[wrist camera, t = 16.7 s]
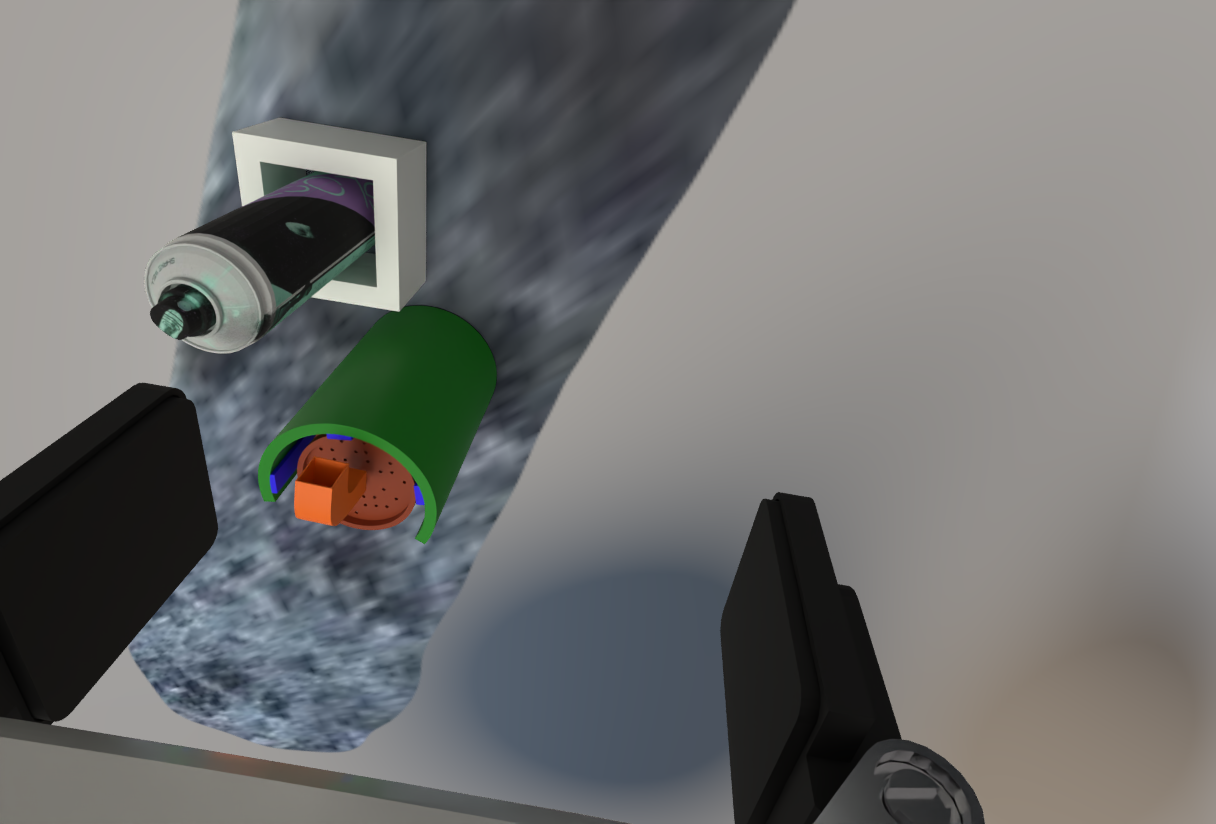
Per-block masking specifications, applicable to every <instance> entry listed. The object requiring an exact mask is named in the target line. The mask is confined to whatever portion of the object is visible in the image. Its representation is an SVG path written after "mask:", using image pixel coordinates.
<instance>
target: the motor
mask: <svg viewBox="0 0 1216 824" xmlns="http://www.w3.org/2000/svg"><path fill="white" fill-rule="evenodd" d="M496 379H497V372H496V365H495V361H494V358H493V355H492V352H491V350H490V348H489V347H488V345H487V343H486V342H485V340H484V339H483V338H482V336H481V335H480V334H479V333H478V332H477V331H476V330H475V329H474V328H473V327H472V326H471V325H470V324H468V323H467V322H466V321H464V320H463V319H461V318H460V317H458V316H456V315H454V314H452V313H450V312H448V311H445V310H442V309H439V308H435V307H429V306H408V307H403V308H402V309H401V311H400V312H398V311H391V312H389V313H388V314H386V315H384V316H383V317H382V318H380V319H379V320H378V321H377V322H376V323H375V324H374V326H373V327H372V328H371V329H370V330H369V331H368V332H367V334H366V335H365V336H364V337H363V338H362V339H361V340H360V342H359V343H358V344H357V345H356V346H355V347H354V348H353V350H352V351H351V352H350V353H349V354H348V355H347V356H346V358H345V359H344V360H343V361H342V362H341V363H340V364H339V366H338V367H337V368H336V369H335V370H334V371H333V372H332V374H331V375H330V376H329V377H328V378H327V379H326V380H325V382H324V383H323V384H322V385H321V386H320V387H319V389H318V390H317V391H316V392H315V393H314V394H313V395H312V397H311V398H310V399H309V400H308V401H307V402H306V403H305V405H304V406H303V407H302V408H301V409H300V410H299V411H298V413H297V414H296V415H295V416H294V417H293V418H292V419H291V421H290V422H289V423H288V424H287V425H286V426H285V427H284V429H283V430H282V431H281V432H280V433H279V434H278V435H277V437H276V438H275V439H274V440H273V441H272V442H271V443H270V445H269V446H268V447H267V448H266V450H265V452H264V453H263V455H262V458H261V460H260V464H259V470H258V481H259V487H260V491H261V494H262V497H263V499H264V501H271V502H275V501H276V500H277V499H278V498H279V496H280V495H281V494H282V492H283V491H284V490H285V488H286V487H287V486H288V484H289V483H290V482H291V481H292V479H293V478H294V477H295V475H296V474H297V475H298V478H297V480H296V481H295V503H294V505H295V515H296V517H297V518H298V519H303V520H308V521H313V522H317V523H322V524H327V525H332V526H336V525H338V524H339V523H341V524H343V525H346V526H349V527H353V528H357V529H364V530H380V529H385V528H389V527H392V526H395V525H397V524H399V523H400V522H402V521H403V520H404V519H406V518H407V517H408V515H409V514H410V513H411V511H412V509H413V507H414V505H415V503H416V504H418V505H425V518H424V520H423V522H422V525H421V527H420V529H419V531H418V533H417V535H416V537H415V539H417V540H418V541H420V542H422V543H423V544H425V543H426V542H427V541H428V539H429V538H430V536H431V534H432V532H433V530H434V528H435V525H436V523H437V521H438V519H439V516H440V514H441V512H442V509H443V507H444V505H445V503H446V500H447V498H448V496H449V493H450V491H451V489H452V487H453V484H454V482H455V480H456V477H457V475H458V473H459V471H460V468H461V466H462V464H463V461H464V459H465V457H466V455H467V452H468V450H469V448H470V446H471V443H472V441H473V439H474V436H475V434H476V432H477V430H478V427H479V425H480V423H481V420H482V418H483V416H484V414H485V411H486V409H487V407H488V404H489V402H490V400H491V398H492V395H493V393H494V390H495V386H496ZM356 511H357V512H356Z"/></svg>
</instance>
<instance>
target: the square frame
mask: <svg viewBox="0 0 1216 824" xmlns="http://www.w3.org/2000/svg"><path fill="white" fill-rule="evenodd" d="M232 134H233V141H234V149H235V156H236V163H237V171H238V178H239V185H240V192H241V200H242V206H244V205H246V204H249V203H251V202H253V201H255V200H257V199H259V198H261V197H263V196H265V195H267V194H269V193H271V192H273V191H276V190H278V189H280V188H282V187H284V186H286V185H288V184H290V183H292V182H294V181H296V180H298V179H301V178H303V177H305V176H306V169H308V170H314V171H320V172H326V173H332V174H338V175H344V176H350V177H356V178H362V179H368V180H373V193H374V220H375V247H376V254H372V253H366V252H365V253H364V254H363V255H362V256H360V257H359V258H358V259H357V260H356V261H354V262H353V263H352V264H351V265H349V266H348V267H347V268H346V269H345V270H343V271H342V272H341V273H340V274H338V275H337V276H336V277H335V278H334V279H332V280H331V281H330V282H329V283H327V284H326V285H325V286H324V287H323V288H321V289H320V290H319V291H318V292H317V293H315V294H314V295H313V296H312V297H313V298H319V299H325V300H332V301H338V302H344V303H350V304H356V305H362V306H368V307H374V308H380V309H386V310H392V311H398V312H400V311H401V309H402V308H403V307H404V306H405V305H406V304H407V302H408V301H409V300H410V299H411V298H412V297H413V296H414V294H415V293H416V292H417V291H418V290H419V289H420V288H421V286H422V285H423V284H424V283H425V282H426V142H424V141H418V140H412V139H406V138H400V137H394V136H388V135H382V134H376V133H370V132H364V131H358V130H352V129H346V128H340V127H334V126H328V125H322V124H316V123H310V122H304V121H298V120H292V119H286V118H277V119H273V120H270V121H267V122H263V123H260V124H257V125H253V126H250V127H247V128H243V129H240V130H237V131H233V132H232Z"/></svg>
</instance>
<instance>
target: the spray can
mask: <svg viewBox="0 0 1216 824" xmlns="http://www.w3.org/2000/svg"><path fill="white" fill-rule="evenodd" d="M374 245H375V220H374V193H373V180H368V179H362V178H356V177H350V176H344V175H338V174H332V173H326V172H320V171H315V172H313V173H311V174H309V175H307V176H305V177H303V178H301V179H298V180H296V181H294V182H292V183H290V184H288V185H286V186H284V187H282V188H280V189H278V190H276V191H273V192H271V193H269V194H267V195H265V196H263V197H261V198H259V199H257V200H255V201H253V202H251V203H249V204H246V205H244V206H242V207H240V208H238V209H236V210H234V211H232V212H230V213H228V214H226V215H224V216H221V217H219V218H217V219H215V220H213V221H211V222H209V223H207V224H205V225H203V226H201V227H199V228H197V229H194V230H192V231H190V232H188V233H186V234H184V235H182V236H180V237H178V238H176V239H174V240H172V241H171V242H169V243H167V244H166V245H165V246H164V247H163V248H162V249H160V250H159V251H157V252H156V253H155V254H154V255H153V256H152V257H151V259H150V260H149V262H148V265H147V266H146V270H145V276H144V282H145V283H144V284H145V291H146V295H147V298H148V300H149V303H150V305H151V307H152V309H151V311H150V316H151V319H152V321H153V322H154V323H155V324H156V325H157V326H158V327H159V328H160V329H161V330H162V331H163V332H165V333H166V334H168V335H169V336H171V337H172V338H175V339H178V340H183V341H184V342H186V343H187V344H189V345H191V346H194V347H196V348H198V349H201V350H204V351H208V352H213V353H232V352H235V351H239V350H241V349H243V348H245V347H247V346H248V345H251V344H253V343H254V342H256V341H258V340H259V339H261V338H262V337H263V336H264V335H265V334H267V333H268V332H269V331H270V330H271V329H273V328H274V327H275V326H276V325H278V324H279V323H280V322H281V321H282V320H284V319H285V318H286V317H287V316H289V315H290V314H291V313H292V312H293V311H295V310H296V309H297V308H298V307H299V306H301V305H302V304H303V303H304V302H306V301H307V300H308V299H309V298H310V297H312V296H313V295H314V294H315V293H317V292H318V291H319V290H320V289H321V288H323V287H324V286H325V285H326V284H327V283H329V282H330V281H331V280H332V279H334V278H335V277H336V276H337V275H338V274H340V273H341V272H342V271H343V270H345V269H346V268H347V267H348V266H349V265H351V264H352V263H353V262H354V261H356V260H357V259H358V258H359V257H360V256H362V255H363V254H364V253H365V252H366V251H368V250H369V249H370V248H371V247H373V246H374Z"/></svg>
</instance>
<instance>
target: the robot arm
mask: <svg viewBox="0 0 1216 824" xmlns="http://www.w3.org/2000/svg"><path fill="white" fill-rule="evenodd" d="M217 531H218V523H217V518H216V512H215V507H214V502H213V497H212V492H211V486H210V481H209V476H208V471H207V466H206V460H205V455H204V450H203V445H202V439H201V434H200V429H199V424H198V419H197V413H196V408H195V406H194V403H193V402H192V401H191V400H188V399H187V398H186V396H185V394H184V393H183V391H182V390H179V389H177V388H172V387H166V386H159V385H154V384H148V383H138V384H136V385H134V386H132V387H131V388H130V389H128V390H127V391H126V392H124V393H123V394H121V395H120V396H118V397H117V398H116V399H114V400H113V401H111V402H110V403H109V404H107V405H106V406H104V407H103V408H102V409H100V410H99V411H98V412H96V413H95V414H93V415H92V416H90V417H89V418H88V419H86V420H85V421H83V422H82V423H81V424H79V425H78V426H76V427H75V428H74V429H72V430H71V431H69V432H68V433H67V434H65V435H64V436H62V437H61V438H60V439H58V440H57V441H55V442H54V443H53V444H51V445H50V446H48V447H47V448H45V449H44V450H43V451H41V452H40V453H39V454H37V455H36V456H35V457H33V458H31V459H30V460H29V461H27V462H26V463H24V464H23V465H22V466H20V467H19V468H17V469H16V470H15V471H13V472H12V473H10V474H9V475H8V476H6V477H5V478H3V479H2V480H1V481H0V824H630V823H625V822H619V821H614V820H609V819H604V818H599V817H593V816H588V815H583V814H578V813H572V812H566V811H560V810H555V809H548V808H543V807H537V806H531V805H526V804H520V803H514V802H508V801H502V800H497V799H491V798H485V797H480V796H473V795H468V794H462V793H457V792H451V791H445V790H439V789H433V788H427V787H422V786H416V785H410V784H405V783H399V782H393V781H386V780H380V779H375V778H369V777H363V776H357V775H351V774H345V773H339V772H333V771H328V770H321V769H316V768H309V767H304V766H298V765H292V764H286V763H280V762H274V761H268V760H262V759H256V758H250V757H244V756H238V755H232V754H226V753H220V752H214V751H208V750H202V749H195V748H189V747H184V746H178V745H171V744H165V743H159V742H153V741H147V740H140V739H134V738H128V737H122V736H116V735H110V734H103V733H97V732H91V731H85V730H79V729H73V728H67V727H61V726H54V725H51V724H52V723H53V722H54V721H55V722H56V721H60V720H62V719H64V718H65V717H67V716H68V715H69V714H70V713H71V712H72V711H73V710H74V708H75V707H76V706H77V705H78V704H79V703H80V701H81V700H82V699H83V698H84V697H85V696H86V694H87V693H88V692H89V691H90V690H91V688H92V687H93V686H94V685H95V684H96V683H97V681H98V680H99V679H100V678H101V677H102V676H103V674H104V673H105V672H106V671H107V670H108V668H109V667H110V666H111V665H112V664H113V663H114V661H115V660H116V659H117V658H118V657H119V655H120V654H121V653H122V652H123V650H124V649H125V648H126V647H127V646H128V645H129V644H130V642H131V641H132V640H133V639H134V638H135V636H136V635H137V634H138V633H139V632H140V631H141V629H142V628H143V627H144V626H145V625H146V623H147V622H148V621H149V620H150V619H151V618H152V616H153V615H154V614H155V613H156V612H157V610H158V609H159V608H160V607H161V606H162V605H163V603H164V602H165V601H166V600H167V599H168V597H169V596H170V595H171V594H172V593H173V592H174V590H175V589H176V588H177V587H178V586H179V584H180V583H181V582H182V581H183V580H184V579H185V577H186V576H187V575H188V574H189V573H190V571H191V570H192V569H193V568H194V567H195V566H196V564H197V563H198V562H199V561H200V560H201V558H202V557H203V556H204V555H205V554H206V553H207V551H208V550H209V549H210V548H211V546H212V545H213V543H214V541H215V539H216V536H217ZM720 631H721V647H722V660H723V672H724V673H723V674H724V687H725V699H726V713H727V726H728V740H729V753H730V766H731V780H732V794H733V806H734V819H735V824H985V822H984V815H983V810H982V807H981V805H980V803H979V801H978V798H977V796H976V794H975V792H974V790H973V789H972V788H971V786H970V785H969V783H968V782H967V781H966V779H965V778H964V777H963V775H962V774H961V773H960V772H959V771H958V770H957V769H956V768H955V767H954V766H953V765H951V764H950V763H949V762H948V761H947V760H946V759H945V758H943V757H942V756H940V755H939V754H937V753H935V752H934V751H932V750H931V749H929V748H928V747H926V746H923V745H920V744H917V743H914V742H911V741H909V740H902V739H901V735H900V732H899V729H898V726H897V723H896V719H895V716H894V713H893V710H892V707H891V703H890V700H889V697H888V693H887V690H886V687H885V684H884V681H883V677H882V674H881V671H880V668H879V664H878V662H877V658H876V655H875V652H874V648H873V645H872V642H871V639H870V635H869V632H868V629H867V626H866V622H865V619H864V616H863V613H862V610H861V607H860V603H859V600H858V598H857V595H856V593H855V591H854V590H853V589H852V588H851V587H850V586H845V585H840V584H837V580H836V576H835V573H834V570H833V566H832V562H831V559H830V556H829V552H828V548H827V545H826V541H825V537H824V534H823V530H822V527H821V523H820V520H819V516H818V513H817V509H816V506H815V503H814V500H813V499H812V498H809V497H804V496H798V495H792V494H786V493H780V492H778V493H776V494H775V496H774V497H773V499H772V500H769V499H763V500H762V501H761V503H760V506H759V509H758V512H757V515H756V517H755V520H754V523H753V526H752V529H751V532H750V535H749V538H748V541H747V544H746V547H745V549H744V552H743V555H742V558H741V561H740V564H739V567H738V570H737V573H736V575H735V579H734V581H733V584H732V587H731V590H730V593H729V596H728V599H727V602H726V605H725V607H724V610H723V614H722V619H721V630H720Z"/></svg>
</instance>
